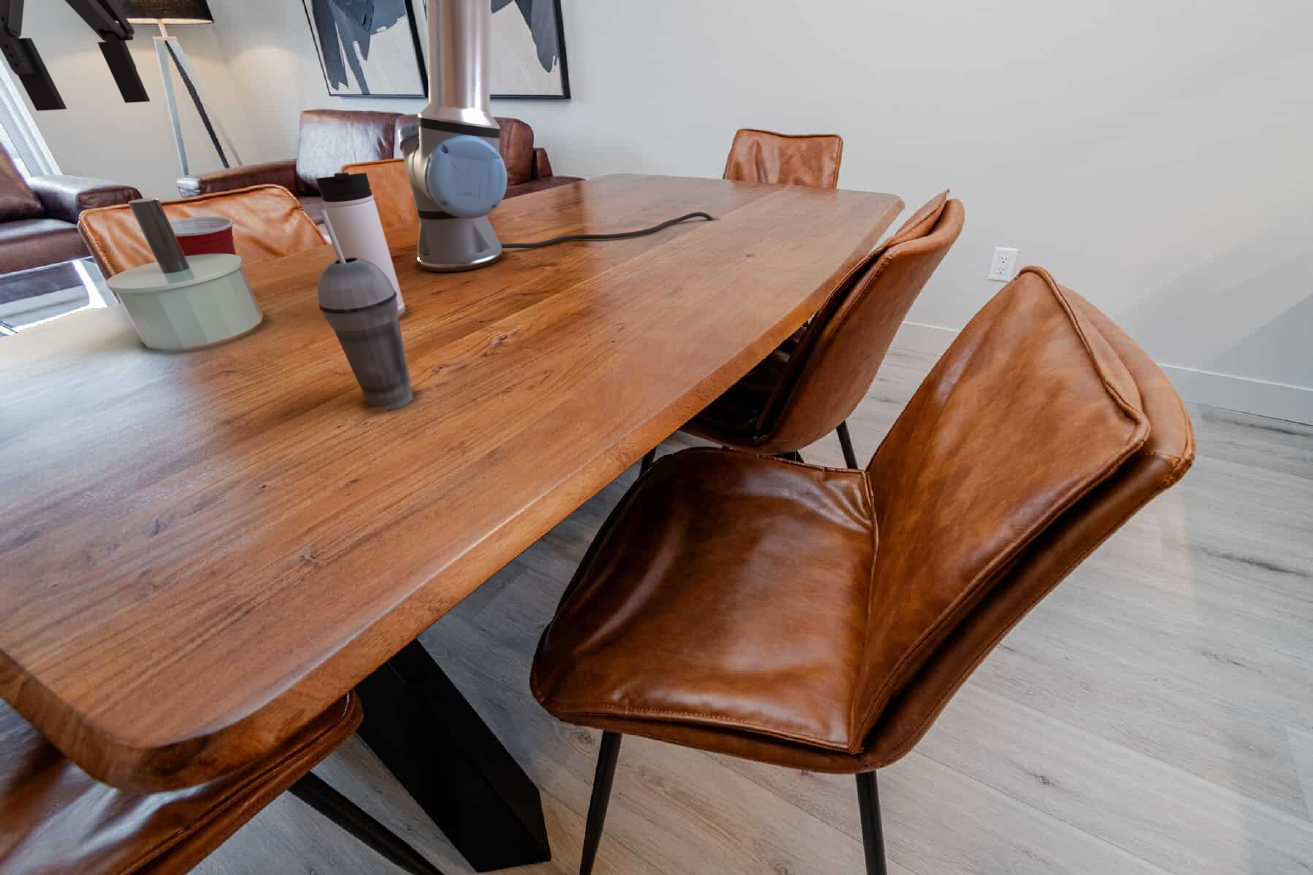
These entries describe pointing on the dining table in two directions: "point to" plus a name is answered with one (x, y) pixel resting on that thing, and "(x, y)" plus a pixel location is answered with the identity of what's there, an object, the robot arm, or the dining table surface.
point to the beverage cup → (366, 325)
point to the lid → (167, 257)
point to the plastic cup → (204, 235)
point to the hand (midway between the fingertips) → (98, 106)
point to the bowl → (194, 312)
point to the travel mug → (357, 222)
